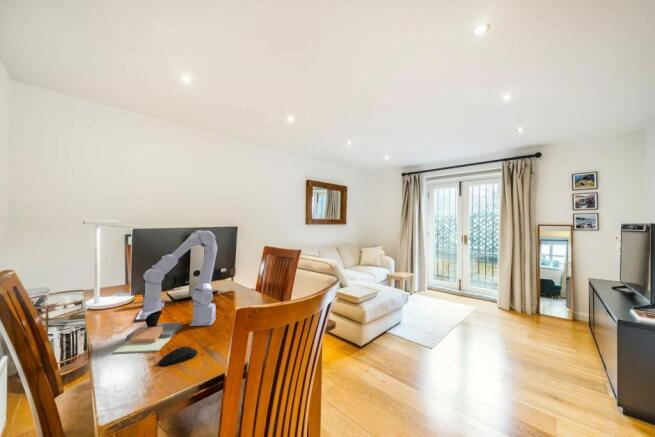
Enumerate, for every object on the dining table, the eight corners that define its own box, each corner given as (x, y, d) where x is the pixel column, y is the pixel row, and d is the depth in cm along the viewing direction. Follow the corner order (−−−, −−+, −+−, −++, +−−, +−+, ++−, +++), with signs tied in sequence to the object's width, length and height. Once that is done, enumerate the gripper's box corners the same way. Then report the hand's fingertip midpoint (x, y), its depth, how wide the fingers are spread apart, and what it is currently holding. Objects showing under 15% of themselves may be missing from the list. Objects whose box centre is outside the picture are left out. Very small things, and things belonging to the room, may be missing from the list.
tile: (163, 330, 104) (162, 326, 103) (155, 341, 98) (154, 338, 98) (139, 331, 103) (138, 327, 102) (130, 343, 97) (129, 339, 96)
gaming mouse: (146, 365, 84) (147, 353, 84) (194, 350, 94) (195, 340, 94) (149, 373, 80) (149, 361, 80) (199, 357, 90) (199, 346, 90)
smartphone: (139, 313, 132) (133, 323, 118) (139, 310, 132) (133, 320, 118) (159, 310, 136) (156, 320, 122) (159, 307, 136) (156, 316, 122)
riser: (182, 326, 114) (182, 322, 114) (169, 338, 102) (169, 334, 102) (144, 328, 112) (144, 323, 112) (126, 340, 100) (126, 335, 100)
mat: (170, 338, 102) (170, 337, 102) (157, 351, 92) (157, 349, 92) (130, 340, 100) (130, 339, 100) (112, 353, 90) (112, 352, 90)
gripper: (152, 292, 111) (151, 323, 111) (131, 303, 96) (130, 338, 96) (169, 292, 112) (168, 323, 112) (151, 302, 97) (150, 337, 97)
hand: (152, 330), depth 104 cm, fingers closed
